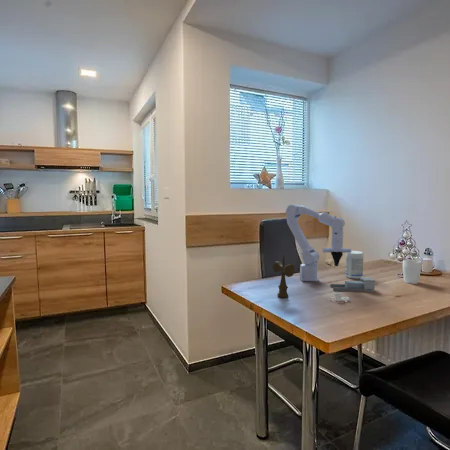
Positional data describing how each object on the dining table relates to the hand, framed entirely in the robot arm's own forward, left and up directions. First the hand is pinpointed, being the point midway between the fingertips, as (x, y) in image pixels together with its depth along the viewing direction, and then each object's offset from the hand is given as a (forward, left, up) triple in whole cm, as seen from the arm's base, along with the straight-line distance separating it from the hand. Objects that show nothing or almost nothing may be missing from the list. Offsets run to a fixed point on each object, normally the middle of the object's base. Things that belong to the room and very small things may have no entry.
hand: (336, 265), depth 169 cm
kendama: (-30, -24, -10) cm, 40 cm away
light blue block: (+9, -9, -10) cm, 16 cm away
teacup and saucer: (-4, -29, -11) cm, 32 cm away
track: (+5, -9, -10) cm, 14 cm away
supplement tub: (+14, +15, -10) cm, 23 cm away
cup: (+42, +7, -10) cm, 44 cm away
